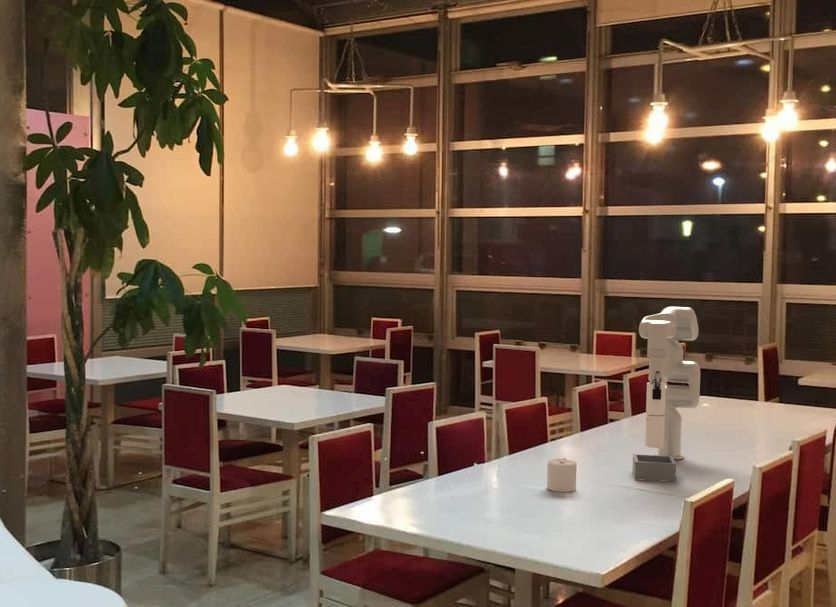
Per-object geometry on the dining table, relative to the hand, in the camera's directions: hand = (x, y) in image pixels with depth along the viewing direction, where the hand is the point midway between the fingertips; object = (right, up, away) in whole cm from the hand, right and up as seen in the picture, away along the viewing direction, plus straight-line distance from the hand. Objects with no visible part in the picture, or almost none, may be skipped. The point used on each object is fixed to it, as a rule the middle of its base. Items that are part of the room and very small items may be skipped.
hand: (655, 397), depth 376 cm
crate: (-1, -31, +1) cm, 31 cm away
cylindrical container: (0, -19, +1) cm, 19 cm away
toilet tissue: (-41, -32, -22) cm, 57 cm away
